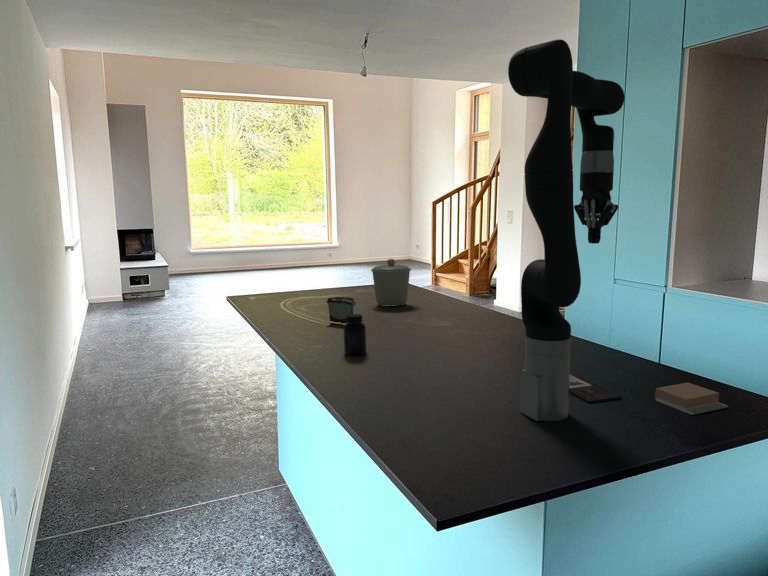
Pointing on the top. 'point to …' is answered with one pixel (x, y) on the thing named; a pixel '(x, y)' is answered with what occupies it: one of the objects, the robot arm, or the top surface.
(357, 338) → the supplement bottle
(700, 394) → the tile
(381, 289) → the canister
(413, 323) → the top surface
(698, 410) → the mat
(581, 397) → the chocolate bar
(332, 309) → the food container
